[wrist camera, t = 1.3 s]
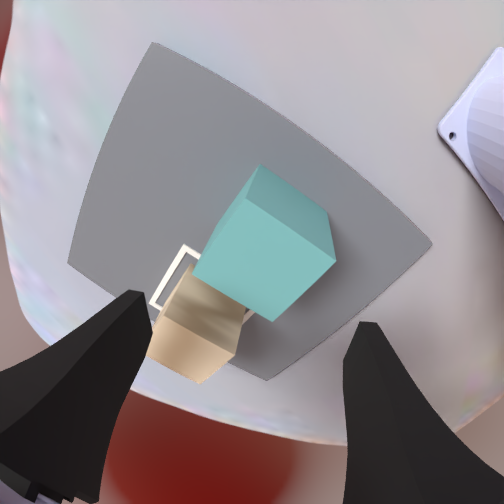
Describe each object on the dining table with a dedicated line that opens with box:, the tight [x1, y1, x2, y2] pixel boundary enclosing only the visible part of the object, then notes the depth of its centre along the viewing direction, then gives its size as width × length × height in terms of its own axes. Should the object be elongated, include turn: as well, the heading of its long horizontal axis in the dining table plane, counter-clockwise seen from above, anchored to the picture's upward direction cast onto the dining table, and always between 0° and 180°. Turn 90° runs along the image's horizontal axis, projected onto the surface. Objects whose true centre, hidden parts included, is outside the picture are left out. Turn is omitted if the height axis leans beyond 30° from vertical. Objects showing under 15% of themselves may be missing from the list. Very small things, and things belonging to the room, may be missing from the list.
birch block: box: [146, 264, 246, 384], centre depth 19 cm, size 4×4×5 cm
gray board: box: [67, 42, 432, 381], centre depth 19 cm, size 20×18×1 cm
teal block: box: [192, 164, 336, 322], centre depth 15 cm, size 4×4×5 cm
